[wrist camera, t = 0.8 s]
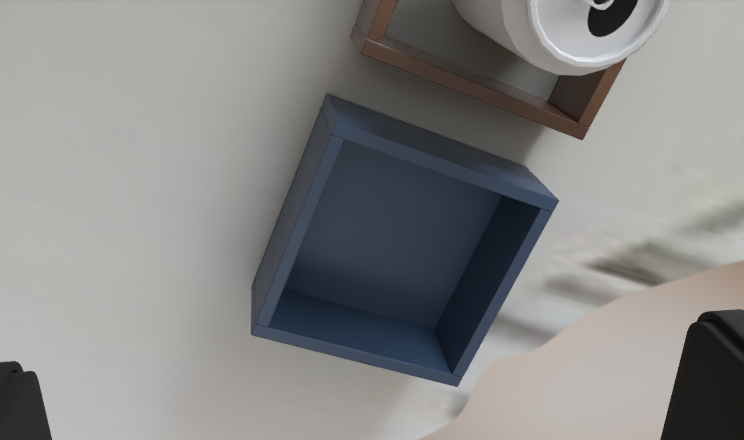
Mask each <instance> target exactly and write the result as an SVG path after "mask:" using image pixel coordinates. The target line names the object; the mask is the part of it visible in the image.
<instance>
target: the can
mask: <svg viewBox="0 0 744 440" xmlns="http://www.w3.org/2000/svg"><path fill="white" fill-rule="evenodd" d="M669 1H670V0H452V2H453V4H454V5H455V7H456V9H457V11H458V13H459V15H460V16H461V17H462V18H464V19H465V20H466V21H467V22H468V23H469V24H470V25H471V26H472V27H473V28H474V29H476V30H478V31H479V32H481V33H483V34H484V35H486V36H487V37H489V38H491V39H492V40H494V41H495V42H497V43H499V44H500V45H502V46H504V47H505V48H507V49H508V50H510V51H512V52H513V53H515V54H516V55H518V56H520V57H521V58H523V59H525V60H526V61H528V62H529V63H531V64H533V65H534V66H537V67H539V68H542V69H544V70H546V71H549V72H551V73H554V74H556V75H576V76H582V75H586V74H589V73H593V72H596V71H600V70H603V69H606V68H608V67H610V66H611V65H613V64H616V63H619V62H620V61H622V60H623V59H625V58H627V57H628V56H630V55H631V54H633V53H635V52H636V51H638V50H639V49H640V48H641V47H642V46H643V45H644V43H645V42H646V41H647V40H648V39H649V38H650V37H651V36H652V35H653V34H654V33H655V31H656V29H657V28H658V26H659V24H660V22H661V20H662V18H663V17H664V15H665V13H666V11H667V9H668V5H669Z"/></svg>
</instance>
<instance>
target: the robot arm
mask: <svg viewBox="0 0 744 440" xmlns="http://www.w3.org/2000/svg"><path fill="white" fill-rule="evenodd" d="M0 440H52V437H51V433H50V429H49V424H48V420H47V416H46V411H45V407H44V403H43V399H42V394H41V390H40V386H39V381H38V378H37V375H36V374H35V372H33V371H27V372H23V369H22V367H21V365H20V364H19V363H18V362H16V361H12V362H0ZM661 440H744V310H740V309H737V310H723V311H709V312H705V313H702V314H701V315H700V317H699V318H698V320H697V322H695V323H692V324H691V325H690V327H689V329H688V331H687V335H686V339H685V343H684V347H683V351H682V355H681V360H680V363H679V367H678V372H677V375H676V379H675V383H674V387H673V392H672V395H671V399H670V403H669V408H668V411H667V415H666V420H665V424H664V428H663V432H662V436H661Z"/></svg>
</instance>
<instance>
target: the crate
mask: <svg viewBox="0 0 744 440" xmlns="http://www.w3.org/2000/svg"><path fill="white" fill-rule="evenodd" d="M397 2H398V0H364V2H363V5H362V7H361V10H360V12H359V15H358V17H357V20H356V24H355V25H354V28H353V30H352V33H351V35H350V38H351V39H352V41H353V42H354V44H355V45H356V47H357V49H358V50H359V52H360V53H361V54H363V55H366V56H368V57H371V58H373V59H376V60H378V61H381V62H383V63H386V64H389V65H391V66H394V67H396V68H399V69H401V70H404V71H406V72H409V73H412V74H414V75H417V76H419V77H422V78H424V79H427V80H429V81H432V82H434V83H437V84H440V85H442V86H445V87H447V88H450V89H452V90H455V91H457V92H460V93H463V94H465V95H468V96H470V97H473V98H475V99H478V100H480V101H483V102H486V103H488V104H491V105H493V106H496V107H498V108H501V109H503V110H506V111H508V112H511V113H514V114H516V115H519V116H521V117H524V118H526V119H529V120H531V121H534V122H537V123H539V124H542V125H544V126H547V127H549V128H552V129H554V130H557V131H560V132H562V133H565V134H567V135H570V136H572V137H575V138H577V139H580V140H583V138H584V137H585V135H586V133H587V131H588V129H589V127H590V125H591V124H592V122H593V120H594V118H595V116H596V114H597V112H598V111H599V109H600V107H601V105H602V103H603V101H604V99H605V98H606V96H607V94H608V92H609V90H610V88H611V86H612V85H613V83H614V81H615V79H616V77H617V75H618V73H619V72H620V70H621V68H622V66H623V64H624V62H625V60H626V59H627V58H625V59H623V60H622V61H620V62H619V63H616V64H613V65H611V66H610V67H608V68H606V69H603V70H600V71H596V72H593V73H589V74H586V75H582V76H576V75H561V77H560V79H559V81H558V83H557V85H556V86H555V88H554V90H553V92H552V94H551V96H550V98H549V100H548V102H547V101H545V100H543V99H540V98H538V97H535V96H533V95H530V94H528V93H525V92H523V91H520V90H518V89H515V88H513V87H510V86H508V85H505V84H503V83H501V82H498V81H496V80H493V79H491V78H488V77H486V76H483V75H481V74H478V73H476V72H473V71H471V70H468V69H466V68H463V67H461V66H458V65H456V64H454V63H451V62H449V61H446V60H444V59H441V58H439V57H436V56H434V55H431V54H429V53H426V52H424V51H421V50H419V49H416V48H414V47H411V46H409V45H407V44H404V43H402V42H399V41H397V40H394V39H392V38H389V37H387V36H384V34H385V32H386V29H387V27H388V24H389V22H390V19H391V17H392V14H393V12H394V10H395V7H396V5H397Z"/></svg>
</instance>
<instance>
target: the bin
mask: <svg viewBox="0 0 744 440" xmlns="http://www.w3.org/2000/svg"><path fill="white" fill-rule="evenodd" d="M558 202H559V200H558V199H557V198H556V197H555V196H554V195H553V194H552V193H551V192H550V191H549V190H548V189H547V188H546V187H545V186H544V185H543V184H542V183H541V182H540V181H539V180H538V179H537V178H536V177H535V176H534V175H533V173H532V172H531V171H530V170H529V169H528V168H527V167H526V166H523V165H520V164H518V163H515V162H512V161H510V160H507V159H504V158H501V157H499V156H496V155H493V154H491V153H488V152H485V151H482V150H480V149H477V148H474V147H472V146H469V145H466V144H463V143H461V142H458V141H455V140H453V139H450V138H447V137H444V136H442V135H439V134H436V133H434V132H431V131H428V130H425V129H423V128H420V127H417V126H415V125H412V124H409V123H406V122H404V121H401V120H398V119H396V118H393V117H390V116H387V115H385V114H382V113H379V112H377V111H374V110H371V109H368V108H366V107H363V106H360V105H358V104H355V103H352V102H349V101H347V100H344V99H341V98H339V97H336V96H333V95H330V94H326V96H325V99H324V101H323V104H322V107H321V109H320V112H319V114H318V117H317V119H316V122H315V125H314V127H313V130H312V132H311V135H310V137H309V140H308V143H307V145H306V148H305V150H304V153H303V155H302V158H301V161H300V163H299V166H298V168H297V171H296V173H295V176H294V179H293V181H292V184H291V186H290V189H289V191H288V194H287V197H286V199H285V202H284V204H283V207H282V209H281V212H280V215H279V217H278V220H277V222H276V225H275V227H274V230H273V233H272V235H271V238H270V240H269V243H268V245H267V248H266V251H265V253H264V256H263V258H262V261H261V263H260V266H259V269H258V271H257V274H256V276H255V279H254V281H253V284H252V287H251V290H252V293H251V335H253V336H257V337H261V338H265V339H269V340H273V341H277V342H281V343H285V344H289V345H293V346H297V347H301V348H305V349H309V350H313V351H317V352H321V353H325V354H329V355H333V356H337V357H341V358H344V359H348V360H352V361H356V362H360V363H364V364H368V365H372V366H376V367H380V368H384V369H388V370H392V371H396V372H400V373H404V374H408V375H412V376H416V377H420V378H424V379H428V380H432V381H436V382H440V383H444V384H448V385H452V386H455V387H458V385H459V383H460V381H461V380H462V377H463V376H464V374H465V372H466V371H467V369H468V367H469V365H470V363H471V361H472V359H473V358H474V356H475V354H476V352H477V350H478V348H479V347H480V345H481V343H482V341H483V339H484V337H485V336H486V334H487V332H488V330H489V328H490V326H491V325H492V323H493V321H494V319H495V317H496V315H497V314H498V312H499V310H500V308H501V306H502V304H503V303H504V301H505V299H506V297H507V295H508V293H509V292H510V290H511V288H512V286H513V284H514V282H515V281H516V279H517V277H518V275H519V273H520V271H521V270H522V268H523V266H524V264H525V262H526V260H527V259H528V257H529V255H530V253H531V251H532V249H533V248H534V246H535V244H536V242H537V240H538V238H539V236H540V235H541V233H542V231H543V229H544V227H545V225H546V224H547V222H548V220H549V218H550V216H551V214H552V212H553V211H554V209H555V207H556V206H557V204H558Z"/></svg>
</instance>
